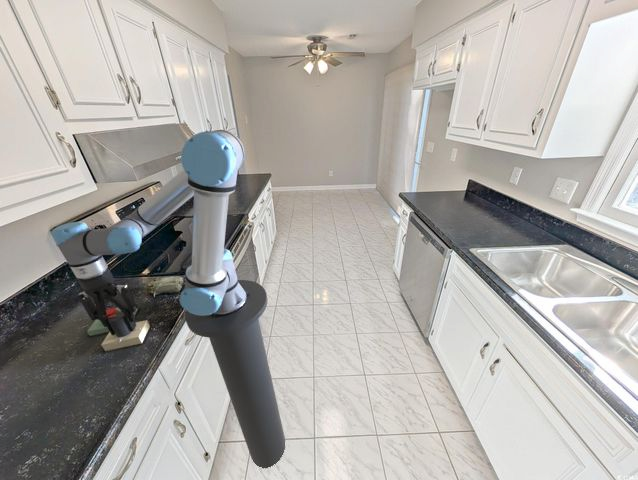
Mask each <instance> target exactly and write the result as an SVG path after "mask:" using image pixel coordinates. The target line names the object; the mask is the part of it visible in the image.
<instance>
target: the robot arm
mask: <svg viewBox="0 0 638 480" xmlns="http://www.w3.org/2000/svg"><path fill="white" fill-rule="evenodd" d="M245 152H246V151H245V147H244V144H243V142H242V141H241V139H240V138H239V137H238V136H237V135H236V134H234V133H232V132H231V131H229V130H225V129H215V130H212V131H211V130H210V131H209V130H206V131H201V132H198V133H195V134H194V135H193V136H191V137H189V138H188V140H186V141H185V143H184V145H183V147H182V149H181V153H180V161H181V166H182V169H181V170H180V171H178V173H176V174H175V175H174V176H173V177H172V178H171V179H170V180H168V182H166V183H165V184H164V185H163V186H161V187H160V188H159V189H158V190H157V191H156V192H155V193H153V194H152V195H151V196H150V197H148V199H146V200H145V201H144V202H143V203H142V204H140V206H138V207H137V208H136V209H135V210H134V211H132V212H131V213H130V214H128V215H127V216H126V217H124V218H123V219H120V220H119V221H117V222H115V223H114V224H112V225H110V226H109V227H106V228H97V229H95V228H94V229H90V227H89V226H88V225H87V223H86V222H85V221H84V222H83V221H74V222H69V223H65V224H61V225H59V226H57V227H54V228H53V229H52V230H51V236H52V238H53V240H54V242H55V245H56V247H57V248H58V249H59V251H60V253H61V254H62V256H63V257H64V259H65V261H66V262H67V264H68V266H69V268H70V269H71V271H72V273H73V274H74V276H75V278H77V281H78V283H79V285H80V286H81V288H82V291H80V292H79V294H77V295H76V296H75V298H76V300H77V301H79V302H80V303H81V304H82V306H83V308H84V310H85V311H86V313H87V315H88V317H89V319H90V320H91V321H95V320H96V319H97V320H100V321H101V322H102V324H103V326H104V327H107V328H108V330H109V331H110V333H111V335H115V333H114V331H113V329H112V327H111V326H110V324H109V322H108V316H111V315H107V313H106V310H107V307H106V302H105V300H108V301H109V302H110V303H113V304H114V305H115V306H116V308H119V309H120V310H121V311H122V312H123V313H124V314H125V315H124V316H123V317H124V319H125V321H126V323H127V325H128V327H129V329H130V331H134V329H135V327H136V323H135V322H136V321H135V320H136V315H135V316H134V314H133V313H134V312H135V310H136V308H137V309H138V305H137V303H136V301H135V299H134V297H133V295H132V293H131V291H130V285H129V283H124V285H123V284H118V283H117V282H116V281H115V279H114V276H113V273H112V272H111V270H110V268H109V266H108V264H107V262H106V260H105V258H104V257H103V256H109V255H111V256H112V255H126V254H128V253H129V254H130V253H135V252H137V251H138V250H139V249H140V248H141V245H142V238H143V237H144V236H146V235H147V234H149V233H150V232H152V231H153V230H154V229H155V228H156V227H157V226H158V225H160V223H162V222H163V221H165V219H167V218H168V217H169V216H171V215H172V214H173V213H174V212H175V211H177V210H178V209H179V208H180V207H181V206H183V205H184V204H185V203H186V202H188V201H189V200H190V199H192V198H193V210H192V211H193V213H192V239H191V241H192V242H191V243H192V244H191V265H189V266H188V267H187V268H186V270H185V283H184V288H183V290H182V291H181V292H180V294H179V295H180V296H179V298H178V299H179V304H180V306H181V307H182V309H184V311H186V310H187V311H188V312H189V313H192V314H195V315H200V316H205V315H210V314H211V315H214V316H226V315H230V314H233V313H235V312H237V311H238V310H240V309H241V308H242V307H243V306H244V305H245V304H246V301H247V296H246V294H250V292H245V291H244V289H243V288H242V287H241V285H240V284H239V283H238V280H239V279H238V275H237V271H236V266H235V263H234V259H233V258H234V257H233V256H232V255H233V254H232V252H231V250H229V249H227V248H225V241H226V240H225V239H226V229H227V220H228V209H229V200H230V199H229V198H230V195H231V194H233V193H234V192H235V191H236V189H237V188H236V187H237V178H238V170H239V169H240V168H241V166H243V165H242V164H243V163H244V160H245ZM83 290H84V291H83ZM120 294H121V295H120ZM92 298H93V299H92ZM106 315H107V316H106Z"/></svg>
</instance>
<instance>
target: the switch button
mask: <svg viewBox="0 0 638 480" xmlns="http://www.w3.org/2000/svg"><path fill="white" fill-rule="evenodd" d="M116 308H117V307H110V308H106V313H107V315H112V314H114V313H116V312H117V310H116ZM107 315H106V316H107Z"/></svg>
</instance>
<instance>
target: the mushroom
mask: <svg viewBox="0 0 638 480" xmlns="http://www.w3.org/2000/svg"><path fill="white" fill-rule="evenodd" d="M183 285H184V278H183V277H181V276H179V275H178V276H177V275H176V276H165V277H161V278H158V279H157V278H153V281H151V280H150V281H149V282H148V283H147V287H146V288H145V291H146V293H149V294H152V295H153V297H154V298H155V297H156V295H162V294H165V293H167V294H172V293H178V292H180V291H181V289H183V288H182V287H183Z"/></svg>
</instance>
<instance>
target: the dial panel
mask: <svg viewBox="0 0 638 480" xmlns="http://www.w3.org/2000/svg"><path fill="white" fill-rule="evenodd" d="M135 323H136V327H135V329H134V331H132V332H131V333H130V334H128V335H127V336H124V337H117V336H116V334H115V335H111V333H110V332H108V333H107V335H106V337H105V338H104V339H103V340H102V343H101V344H100V345H101V347H102V349H103V350H104V351H105V352H109V351H112V350H117V349H122V348H126V347H131V346H136V345H139V344H141V345H142V344H143V342H144V340H145V338H146V336H147V334H148V332H149V330H150V328H151V325H150V323H149V320H147V319H146V320H141V321H135Z"/></svg>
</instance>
